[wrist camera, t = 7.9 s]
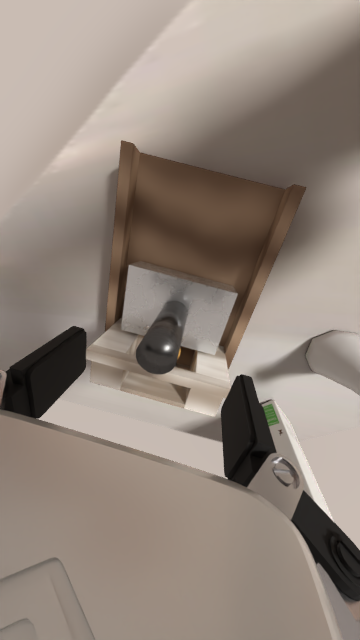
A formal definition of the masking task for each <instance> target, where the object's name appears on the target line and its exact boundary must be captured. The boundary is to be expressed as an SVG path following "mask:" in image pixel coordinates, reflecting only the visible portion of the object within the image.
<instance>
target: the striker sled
mask: <svg viewBox="0 0 360 640" xmlns="http://www.w3.org/2000/svg"><path fill="white" fill-rule="evenodd" d="M237 295H238V293H237V292H236V290H235V288H234V287H233V286H232V285H228V284H225V283H221V282H217V281H213V280H210V279H206V278H202V277H198V276H195V275H191V274H187V273H183V272H180V271H176V270H172V269H168V268H165V267H161V266H157V265H153V264H150V263H146V262H142V261H139V262H136V263H133V264H130V265H129V268H128V276H127V284H126V292H125V300H124V308H123V316H122V324H121V330H124V331H128V332H132V333H135V334H139V335H143V336H144V338H143V339H142V341H141V342H140V344H139V345H138V347H137V349H136V359H137V362H138V364H139V365H140V366H141V367H142V368H143V369H144V370H145V371H147V372H149V373H152V374H166V373H168V372H170V371H171V370H172V369H173V368H174V367H175V365H176V363H177V358H178V354H179V350H180V346H183V347H186V348H190V349H194V350H197V351H201V352H204V353H208V354H212V355H215V353H216V351H217V348H218V345H219V343H220V340H221V337H222V335H223V332H224V329H225V327H226V324H227V321H228V319H229V316H230V313H231V311H232V308H233V306H234V303H235V300H236V298H237Z"/></svg>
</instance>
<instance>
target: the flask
mask: <svg viewBox="0 0 360 640" xmlns="http://www.w3.org/2000/svg"><path fill="white" fill-rule="evenodd" d="M305 356H306V359H307V361H308V363H309V366H310V368H311V370H312V371H314V372H316V373H318V374H320V375H322V376H325V377H327V378H329V379H331V380H333V381H335V382H337V383H339V384H341V385H343V386H345V387H347V388H349V389H351V390H353V391H354V392H355V393H357V394H358V395H360V337H359V336H358V334H357V333H351V332H344V331H337V330H334V331H331V332H329V333H326V334H324V335H321V336H318V337H316V338H313V339H312V341H311V344H310V346H309V348H308V350H307V353H306V355H305Z"/></svg>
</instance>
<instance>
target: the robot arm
mask: <svg viewBox="0 0 360 640" xmlns="http://www.w3.org/2000/svg"><path fill="white" fill-rule="evenodd" d="M85 368H86V332H84V329H83V328H79V327H76V326H72V327H71V328H69V329H68V330H66V331H65V332H63V333H62V334H60V335H58V336H57V337H55V338H54V339H52V340H51V341H49V342H48V343H46V344H45V345H43V346H42V347H40V348H39V349H37V350H35V351H34V352H32V353H31V354H29V355H28V356H26V357H25V358H23V359H22V360H20V361H19V362H17V363H15V364H14V365H12V366H11V367H10V369H9V370H8V371H6V372H5V371H3V370H1V369H0V640H360V550H359V549H358V548H357V547H356V545H355V544H354V543H353V542H352V541H351V540H350V539H349V538H348V536H346V534H345V533H344V532H343V531H342V530H341V529H340V528H339V527H338V526H337V525H336V524H335V523H334V522H333V521H332V519H331V518H330V517H329V516H328V515H327V514H326V513H325V512H324V511H323V510H322V509H321V508H320V507H319V506H318V505H317V504H316V502H315V501H314V500H313V499H312V498H311V497H310V496H309V495H308V494H307V493H306V492H305V491H304V490H303V489H304V482H303V478H302V476H301V473H300V471H299V470H298V468H297V467H296V466H295V465H294V464H293V462H292V461H291V460H289V459H288V458H287V457H285V456H283V455H281V454H278V453H277V451H276V448H275V445H274V441H273V438H272V435H271V432H270V428H269V425H268V422H267V418H266V415H265V412H264V409H263V406H262V405H261V404H259V401H258V398H257V394H256V391H255V387H254V384H253V380H252V378H251V377H249V376H246V375H242V374H241V375H240V376H237V377H236V379H235V381H234V383H233V385H232V387H231V389H230V391H229V393H228V395H227V397H226V400H225V402H224V404H223V406H222V409H221V421H222V439H223V456H224V473H225V477H227V478H228V479H225V478H223V477H219V476H216V475H213V474H211V473H207V472H205V471H202V470H199V469H196V468H192V467H189V466H187V465H183V464H180V463H177V462H174V461H171V460H168V459H165V458H161V457H158V456H155V455H152V454H149V453H146V452H143V451H139V450H136V449H133V448H130V447H126V446H123V445H120V444H116V443H113V442H110V441H107V440H104V439H101V438H97V437H94V436H91V435H88V434H84V433H81V432H78V431H75V430H71V429H68V428H64V427H61V426H58V425H55V424H52V423H48V422H45V421H42V420H38V419H36V418H40V417H41V416H42V415H43V414H44V413H45V412H46V411H47V410H48V409H49V408H50V407H51V406H52V405H53V404H54V402H55V401H56V400H57V399H58V398H59V397H60V396H61V395H62V394H63V393H64V392H65V391H66V390H67V389H68V388H69V387H70V385H71V384H72V383H73V382H74V381H75V380H76V379H77V378H78V377H79V376H80V375H81V374H82V373H83V372H84V370H85Z"/></svg>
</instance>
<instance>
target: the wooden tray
mask: <svg viewBox="0 0 360 640" xmlns="http://www.w3.org/2000/svg"><path fill="white" fill-rule="evenodd" d="M305 190H306V187H303V186H299V185H295V184H294V185H292V186H290V187H289V188H287V189H286V190H285V189H281V188H277V187H273V186H269V185H265V184H261V183H257V182H254V181H250V180H246V179H242V178H238V177H234V176H230V175H226V174H222V173H218V172H214V171H210V170H207V169H203V168H199V167H195V166H191V165H187V164H183V163H179V162H175V161H171V160H167V159H163V158H160V157H156V156H152V155H148V154H144V153H140V152H139V150H138V149H137V148H136V146H135V145H134V144H133V143H130V142H126V141H122V140H121V149H120V161H119V173H118V184H117V196H116V208H115V219H114V231H113V243H112V255H111V266H110V278H109V290H108V301H107V313H106V325H105V333H104V334H103V335H101V336H100V337H99V338H98V339H97V340H96V341H95V342H94V343H93V344H91V345H90V346H89V347H88V348H87V349H86V359H87V360H91V372H90V382H92V383H96V384H99V385H103V386H106V387H110V388H114V389H117V390H121V391H124V392H128V393H131V394H135V395H138V396H142V397H146V398H149V399H153V400H156V401H160V402H163V403H167V404H171V405H174V406H178V407H181V408H185V409H188V410H192V411H195V412H199V413H203V414H206V415H210V416H213V417H215V415H216V413H217V410H218V408H219V406H220V404H221V401H222V399H223V398H226V397H227V395H228V393H229V391H230V389H231V384H230V379H229V373H228V369H229V367H230V364H231V362H232V360H233V357H234V355H235V353H236V350H237V348H238V346H239V343H240V341H241V339H242V336H243V334H244V332H245V329H246V327H247V325H248V322H249V320H250V318H251V315H252V313H253V311H254V309H255V306H256V304H257V302H258V299H259V297H260V295H261V292H262V290H263V288H264V285H265V283H266V281H267V278H268V276H269V274H270V271H271V269H272V267H273V264H274V262H275V260H276V257H277V255H278V253H279V250H280V248H281V246H282V243H283V241H284V239H285V236H286V234H287V232H288V229H289V227H290V225H291V222H292V220H293V218H294V215H295V213H296V211H297V208H298V206H299V204H300V201H301V199H302V197H303V194H304V192H305ZM139 261H142V262H146V263H150V264H153V265H157V266H161V267H165V268H168V269H172V270H176V271H180V272H183V273H187V274H191V275H195V276H198V277H202V278H206V279H210V280H213V281H217V282H221V283H225V284H228V285H232V286H233V287H234V288H235V290H236V292H237V293H238V295H237V298H236V300H235V303H234V306H233V308H232V311H231V313H230V316H229V319H228V321H227V324H226V327H225V329H224V332H223V335H222V337H221V340H220V343H219V345H218V348H217V351H216V353H215V355H212V354H208V353H204V352H201V351H197V350H194V349H190V348H186V347H183V346H180V349H181V353H180V357H179V359H178V360H177V363H176V365H175V367H174V368H173V369H172V370H171V371H170V372H168V373H166V374H152V373H149V372H147V371H145V370H144V369H143V368H142V367H141V366H140V365H139V364H138V362H137V359H136V349H137V347H138V345H139V344H140V342H141V341H142V339H143V338H144V336H143V335H139V334H135V333H132V332H128V331H124V330H121V324H122V316H123V308H124V300H125V292H126V284H127V276H128V268H129V265H130V264H133V263H136V262H139Z"/></svg>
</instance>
